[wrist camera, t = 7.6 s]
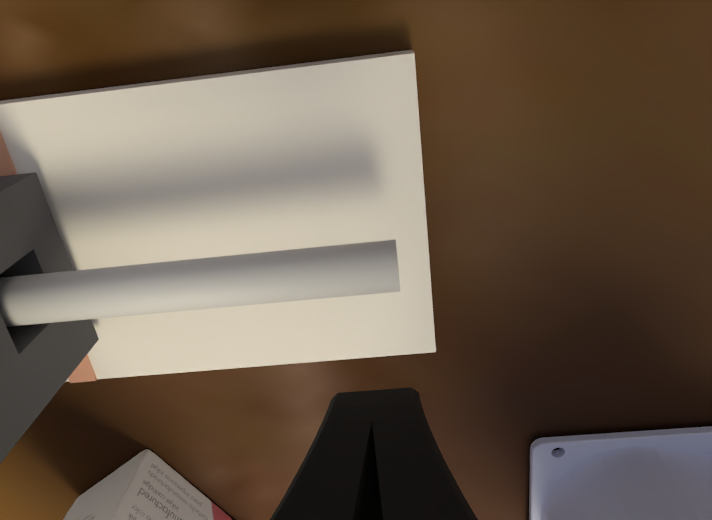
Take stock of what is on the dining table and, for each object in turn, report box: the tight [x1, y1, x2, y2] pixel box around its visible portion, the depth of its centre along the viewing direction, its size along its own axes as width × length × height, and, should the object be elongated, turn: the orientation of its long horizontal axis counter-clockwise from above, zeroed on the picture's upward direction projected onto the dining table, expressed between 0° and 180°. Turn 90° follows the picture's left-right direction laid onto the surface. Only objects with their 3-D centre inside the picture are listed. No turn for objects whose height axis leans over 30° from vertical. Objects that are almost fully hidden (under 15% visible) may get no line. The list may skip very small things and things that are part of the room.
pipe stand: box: [0, 50, 436, 383], centre depth 16 cm, size 20×10×8 cm, turn 97°
